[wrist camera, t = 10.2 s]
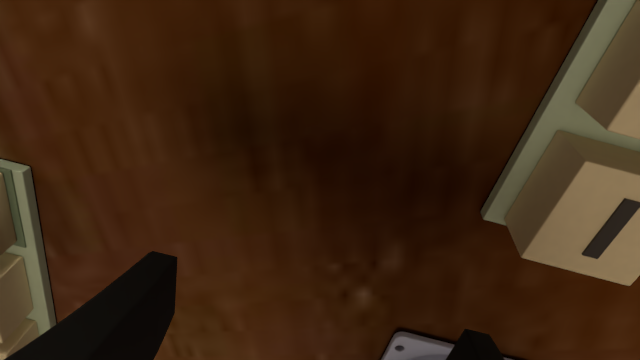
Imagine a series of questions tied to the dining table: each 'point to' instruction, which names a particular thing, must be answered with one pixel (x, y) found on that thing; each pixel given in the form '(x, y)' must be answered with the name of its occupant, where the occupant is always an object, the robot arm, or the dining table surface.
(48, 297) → the word board
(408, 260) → the dining table surface
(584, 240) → the word board
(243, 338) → the dining table surface
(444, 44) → the dining table surface
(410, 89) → the dining table surface
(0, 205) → the beige block
